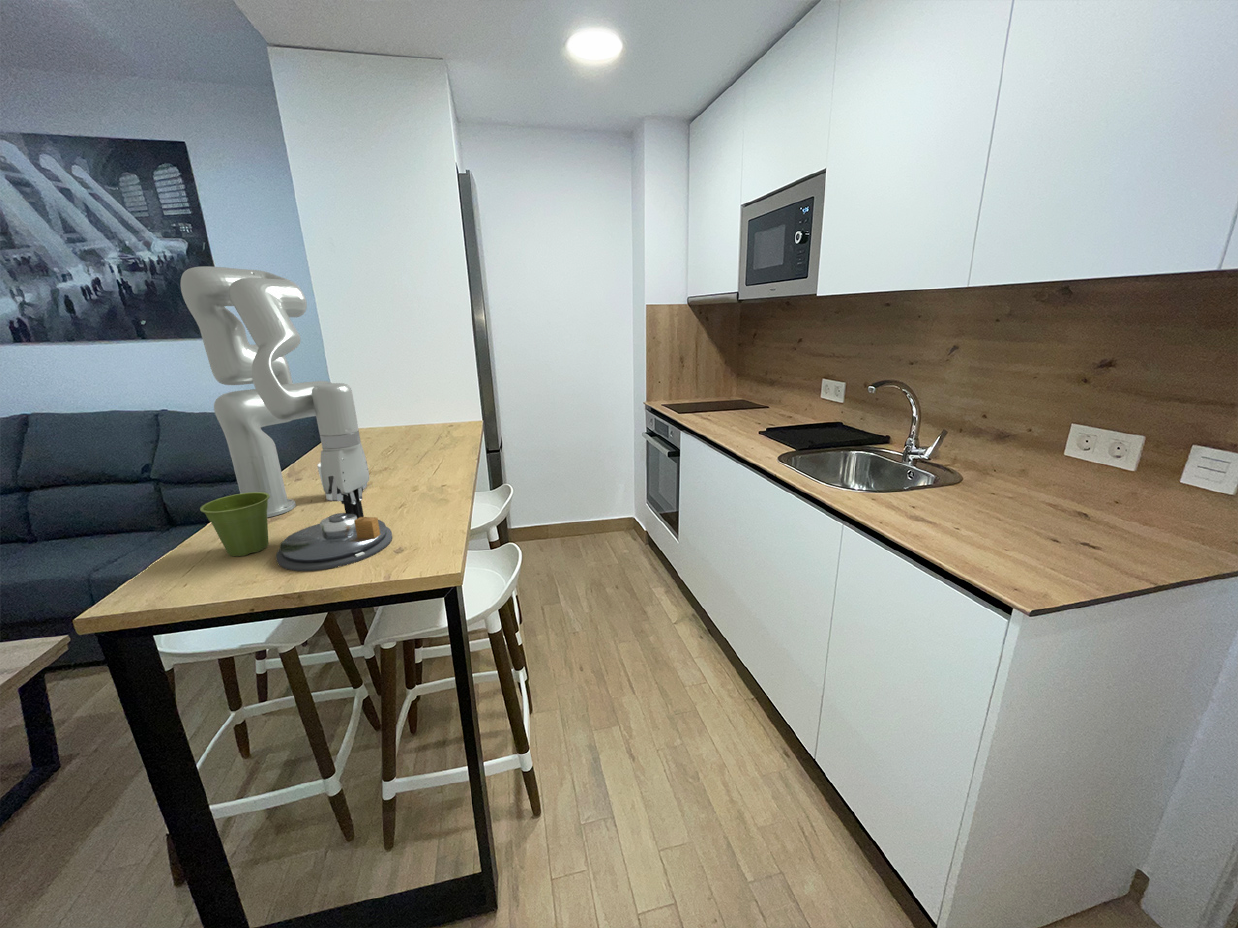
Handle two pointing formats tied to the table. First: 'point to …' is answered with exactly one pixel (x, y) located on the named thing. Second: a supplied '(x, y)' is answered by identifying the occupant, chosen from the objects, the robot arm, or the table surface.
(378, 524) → the turntable
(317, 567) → the turntable base
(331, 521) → the cover
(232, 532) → the plant pot
